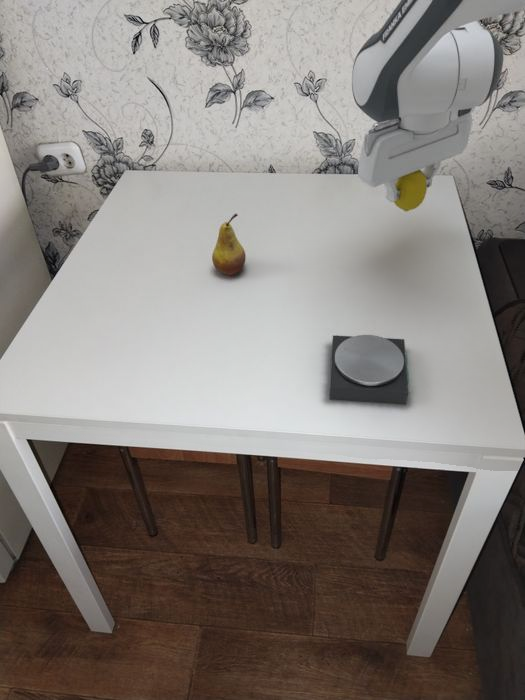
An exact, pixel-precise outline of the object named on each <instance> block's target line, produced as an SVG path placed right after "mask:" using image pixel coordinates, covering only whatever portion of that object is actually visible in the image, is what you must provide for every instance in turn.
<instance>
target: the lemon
mask: <svg viewBox="0 0 525 700" xmlns="http://www.w3.org/2000/svg"><path fill="white" fill-rule="evenodd" d="M395 186H396V188H397V189H400V190H401V194H400V199H399V200H396V201H394V202H393V203H394V205H395V206H396V207H397V208H399V209H401V210H403V211H404V212H409V211H412V210H415V209H417V208H418V207H419V206H420V205H422V203H423V202H424V200H425V197H426V194H427V191H428V190H427V189H428V188H427V182H426V178H425V175H424V174H423V171H422V169H420V170H417V171H415V172H412V173H410V174H407V175H405V176H402V177H399V178H398V182H397V183H396V184H395Z"/></svg>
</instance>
